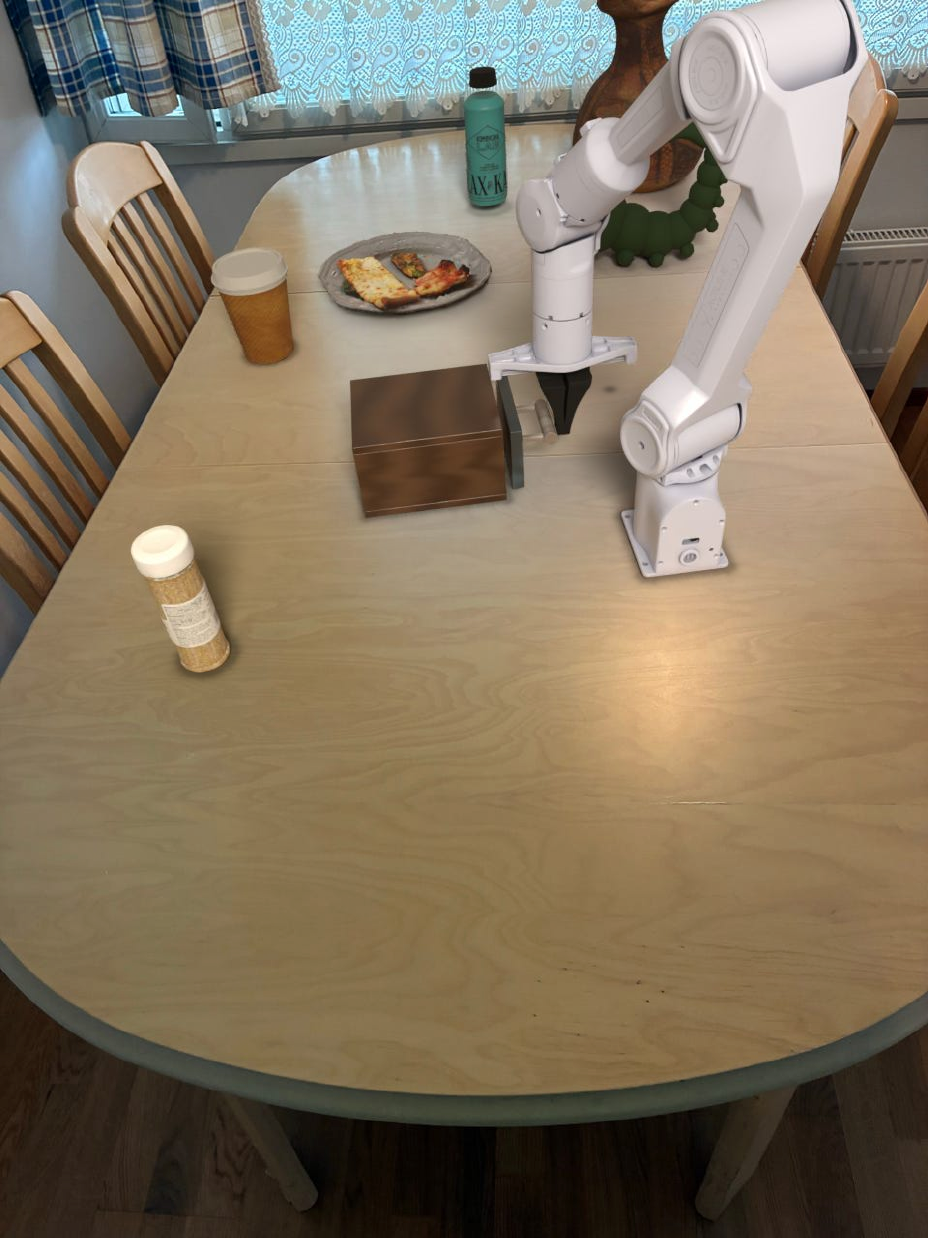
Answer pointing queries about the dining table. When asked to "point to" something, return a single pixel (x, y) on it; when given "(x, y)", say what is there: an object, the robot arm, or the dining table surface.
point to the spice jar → (181, 596)
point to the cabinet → (427, 440)
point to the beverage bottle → (485, 140)
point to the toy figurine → (667, 216)
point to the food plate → (404, 272)
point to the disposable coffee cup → (256, 301)
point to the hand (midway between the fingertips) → (562, 429)
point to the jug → (637, 84)
